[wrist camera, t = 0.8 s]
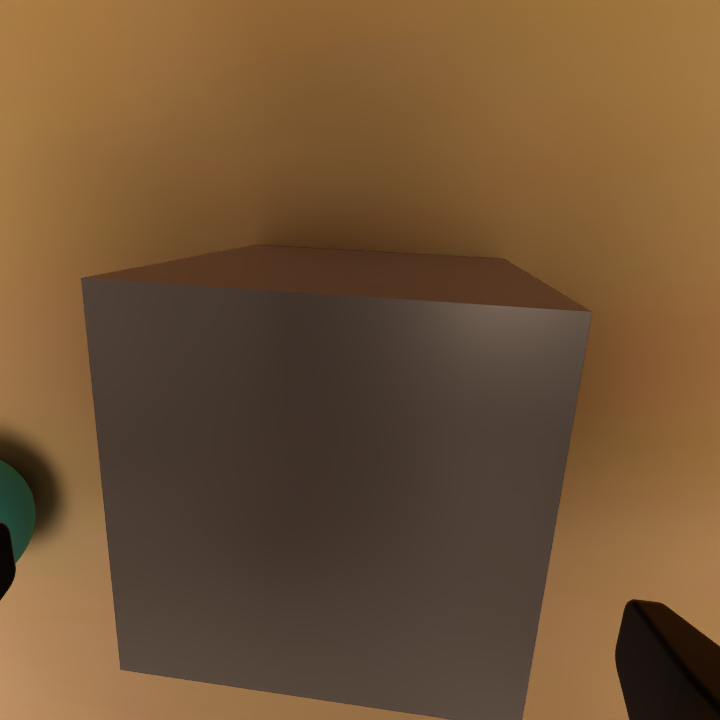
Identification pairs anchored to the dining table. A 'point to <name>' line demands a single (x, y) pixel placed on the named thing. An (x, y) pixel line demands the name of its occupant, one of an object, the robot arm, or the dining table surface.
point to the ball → (16, 508)
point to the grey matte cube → (334, 470)
